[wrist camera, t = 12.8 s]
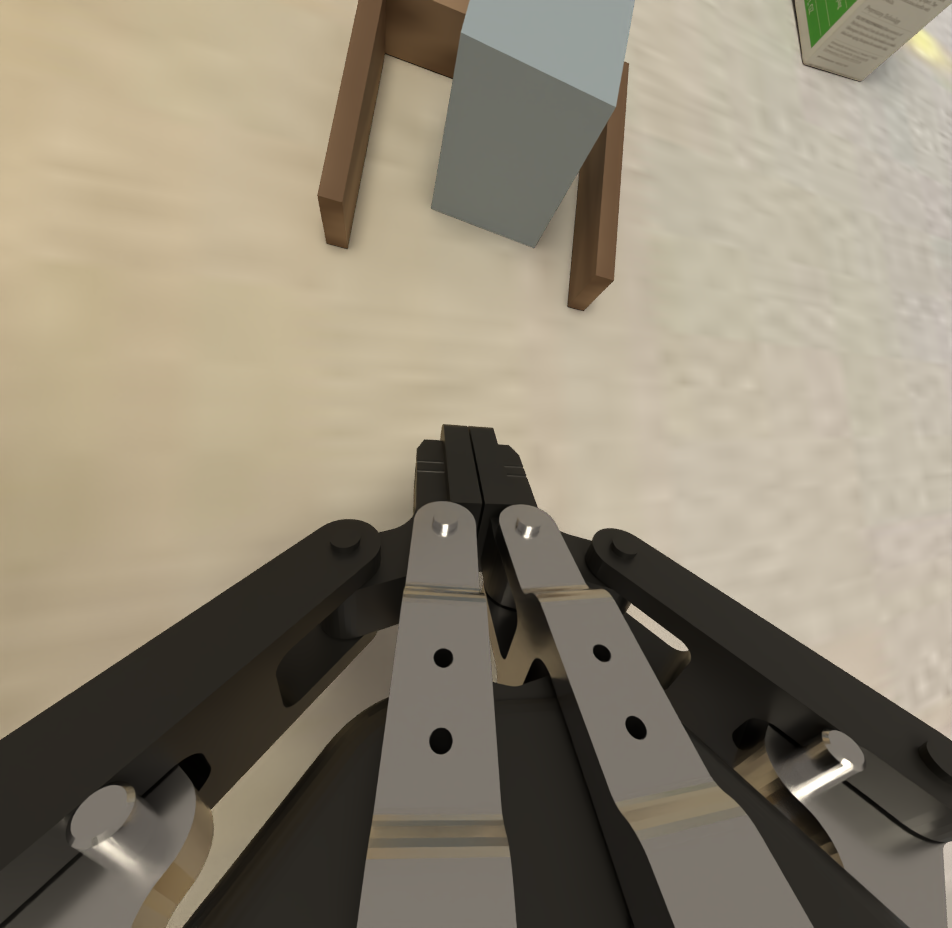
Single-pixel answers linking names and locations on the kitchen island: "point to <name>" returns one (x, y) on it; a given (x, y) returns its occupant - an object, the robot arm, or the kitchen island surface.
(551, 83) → the slate block
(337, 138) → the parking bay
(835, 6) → the skincare box
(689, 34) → the kitchen island surface
